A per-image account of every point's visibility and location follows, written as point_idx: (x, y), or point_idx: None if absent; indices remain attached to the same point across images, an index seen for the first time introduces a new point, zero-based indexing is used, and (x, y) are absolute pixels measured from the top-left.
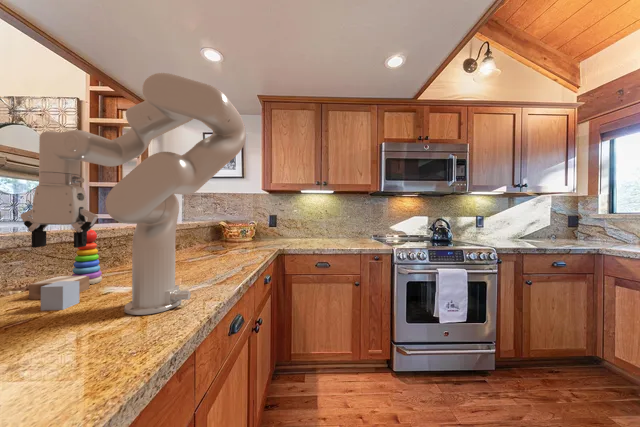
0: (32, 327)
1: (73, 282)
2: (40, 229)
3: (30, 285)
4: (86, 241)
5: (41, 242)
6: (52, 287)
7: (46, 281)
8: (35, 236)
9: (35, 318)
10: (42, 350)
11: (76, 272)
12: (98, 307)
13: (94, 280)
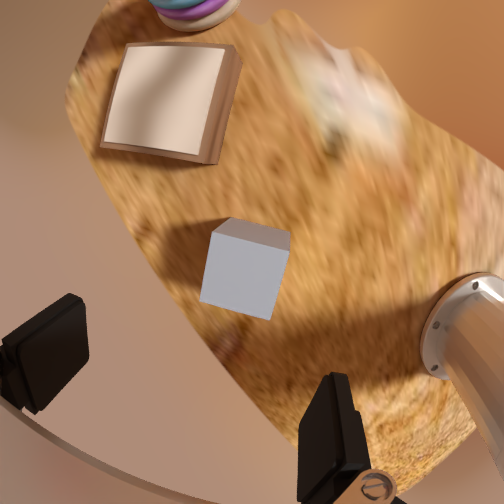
0: (270, 377)
1: (278, 271)
2: (14, 392)
3: (104, 147)
4: (359, 417)
5: (72, 339)
6: (237, 310)
7: (127, 117)
8: (54, 395)
9: (244, 330)
10: None
11: (166, 8)
12: (360, 298)
13: (230, 9)
